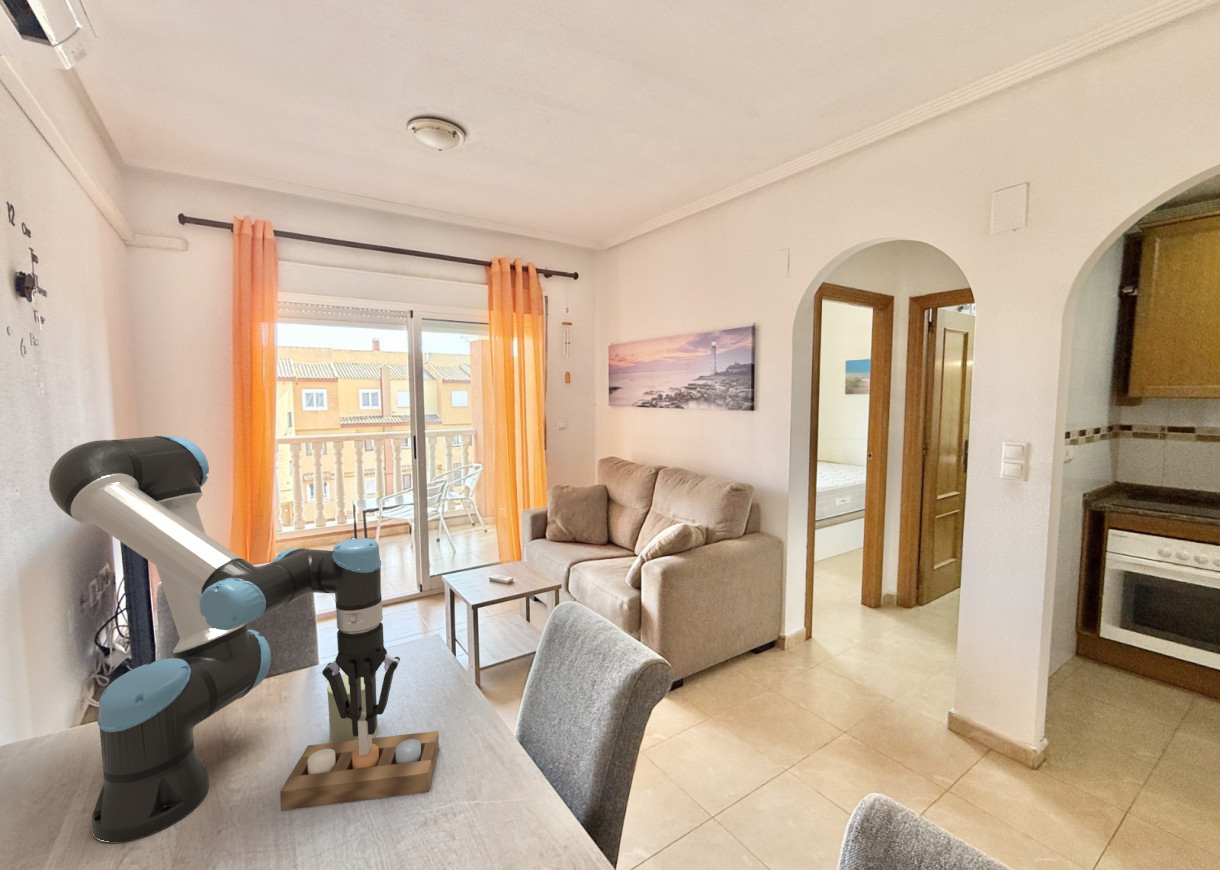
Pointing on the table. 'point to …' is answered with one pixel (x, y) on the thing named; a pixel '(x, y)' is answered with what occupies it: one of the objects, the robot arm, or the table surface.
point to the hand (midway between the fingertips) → (365, 750)
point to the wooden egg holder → (361, 774)
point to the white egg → (321, 761)
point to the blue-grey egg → (408, 751)
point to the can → (343, 727)
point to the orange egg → (366, 758)
